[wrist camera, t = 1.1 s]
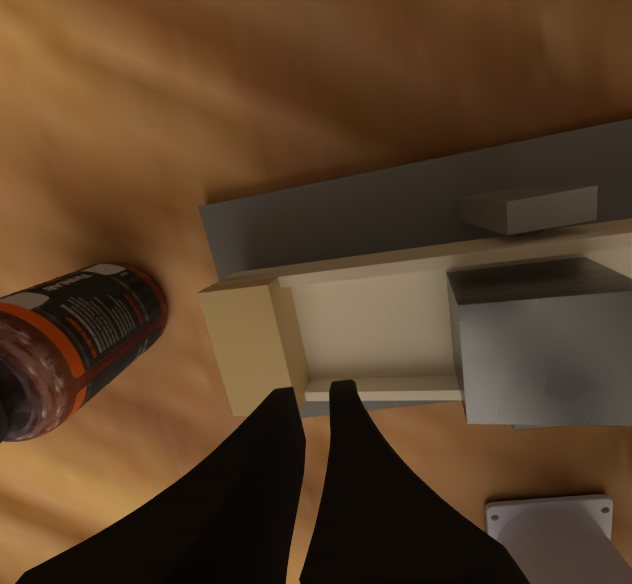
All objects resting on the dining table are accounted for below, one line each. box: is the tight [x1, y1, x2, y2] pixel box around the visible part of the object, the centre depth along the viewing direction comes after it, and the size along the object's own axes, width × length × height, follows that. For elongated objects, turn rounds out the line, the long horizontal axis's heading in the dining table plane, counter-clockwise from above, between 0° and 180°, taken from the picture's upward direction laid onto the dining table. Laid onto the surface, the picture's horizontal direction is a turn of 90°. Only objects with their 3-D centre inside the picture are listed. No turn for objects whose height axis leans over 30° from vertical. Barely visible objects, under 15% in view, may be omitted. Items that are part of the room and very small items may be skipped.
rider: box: [446, 257, 632, 426], centre depth 13 cm, size 4×5×4 cm
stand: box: [199, 119, 632, 430], centre depth 16 cm, size 14×30×6 cm, turn 101°
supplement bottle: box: [0, 262, 167, 443], centre depth 16 cm, size 6×6×11 cm
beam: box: [197, 218, 632, 416], centre depth 14 cm, size 7×28×4 cm, turn 101°
